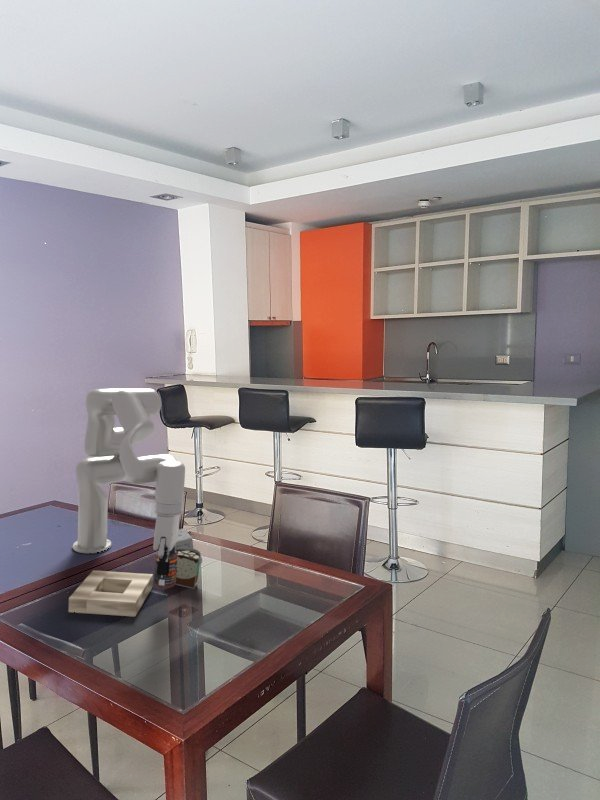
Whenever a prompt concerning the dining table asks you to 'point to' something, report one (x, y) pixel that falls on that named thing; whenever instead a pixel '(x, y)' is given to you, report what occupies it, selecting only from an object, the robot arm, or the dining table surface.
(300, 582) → the dining table surface
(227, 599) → the dining table surface
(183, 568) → the food container
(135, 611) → the socket board
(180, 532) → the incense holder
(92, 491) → the robot arm
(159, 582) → the supplement bottle
